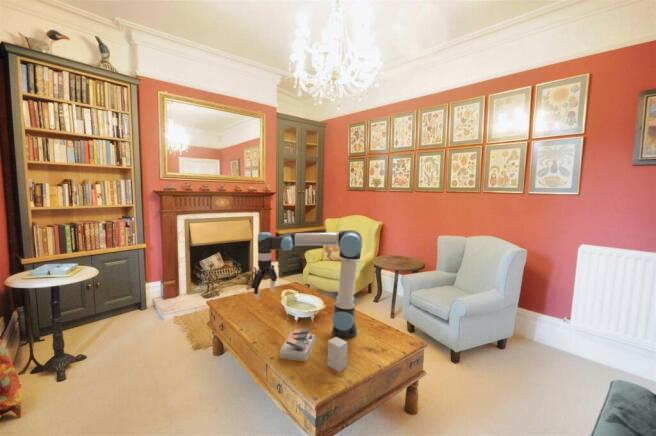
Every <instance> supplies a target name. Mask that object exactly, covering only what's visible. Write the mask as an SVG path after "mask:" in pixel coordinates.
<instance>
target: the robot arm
mask: <svg viewBox="0 0 656 436" xmlns="http://www.w3.org/2000/svg"><path fill="white" fill-rule="evenodd" d="M293 246H337V247H338V248H339V253H338V256H339V258H340V260H341V263H340V269H339V270H340V271H339V282H338V290H337V291H338V292H337V296H336V297H335V301H334V304H333V305H334V306H333V314H332V317H331V321H332V322H331V323H332V329H331V331H332V334H333V336H335V337H338V338H340V339H343V340H344V339H345V340H346V339H347V340H348V339H352V338H354V337H356V335H357V333H358V330H357V329H358V328H357V326H356V321H355V312H356V298H355V297H354V293H355V284H356V276H357V275H356V274H357V267H358V265H357V263H358V261H359V260H360V259H361V255H362V254H361V253H362V247H363V238H362V235H361V234H360V233H359V232H358V231H357V230H353V229H352V230H351V229H349V230H338V231H337V232H291V231H289V232H285V233H284V234H282V235H280V236H272V233H271V232H268V231H265V232H264V231H263V232H259V233H258V234H257V259H258V260H257V267H258V269H255V270H254V276H253V280H252V283H251V287H250V288H252V289H253V293H254V300H257V301H258V300H260V288H259V287H260V285H261V282H262V280H263V278H264V277H266V276H267V277H268V278H269V279H270V281H269V285H270V287H269V291H270V292H272V293H275V292H276V291H275V287H276V286H275V285H276V281H277V279H278V276H277V273H276V270H275V266H274V264H272V251H291V250H292V248H293Z"/></svg>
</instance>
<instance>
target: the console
mask: <svg viewBox="0 0 656 436" xmlns="http://www.w3.org/2000/svg"><path fill="white" fill-rule="evenodd" d="M293 332H294V331H291V332H290V333H289V335H288V337H287V338H286V339H285V341H284V343H283V345H282V346H281V347H280V350H279V351H280V353H279V354H280V359H285V360H292V361H300V362H307V361H308V359H309V357H310V354H311V352H312V350H313V348H314V346H315V343H316V342H315V341H316V335H315V334H312V333H311V334H310V333H308V334H307V337H306V338H305V339H303V340H299V341H300V342H303V343H305V345H304V347H303V349H300V348H297V347H295V348H293V346H292V345H289V344H287V343H286V342H287V340H288V338H289V337H291V335H293V334H292V333H293Z"/></svg>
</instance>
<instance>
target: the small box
mask: <svg viewBox="0 0 656 436" xmlns="http://www.w3.org/2000/svg"><path fill="white" fill-rule="evenodd" d="M348 344H349V343H348V341H347V340H344V339H343V338H339V337H336V336H335V337H332V338H331V339H329V340H327V357H326V358H327V360H326V361H327V364H326V365H327V366H328V367H330V368H331V369H333V370H335V371H337V372H339V373H340V372H342V371H343V370H344V369H346V368H347V367H348Z"/></svg>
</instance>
